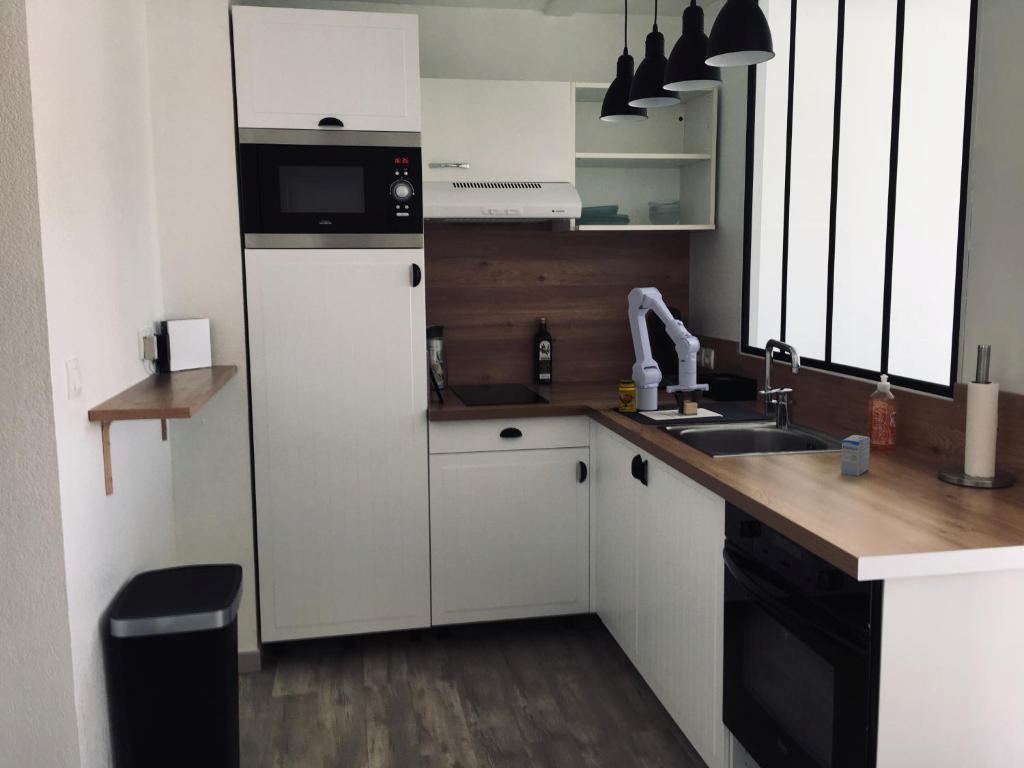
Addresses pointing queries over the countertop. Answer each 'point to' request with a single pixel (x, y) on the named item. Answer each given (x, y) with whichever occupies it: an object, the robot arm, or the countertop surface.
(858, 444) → the medicine box
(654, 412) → the board
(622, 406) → the condiment
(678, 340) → the robot arm
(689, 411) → the cork block
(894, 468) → the countertop surface
